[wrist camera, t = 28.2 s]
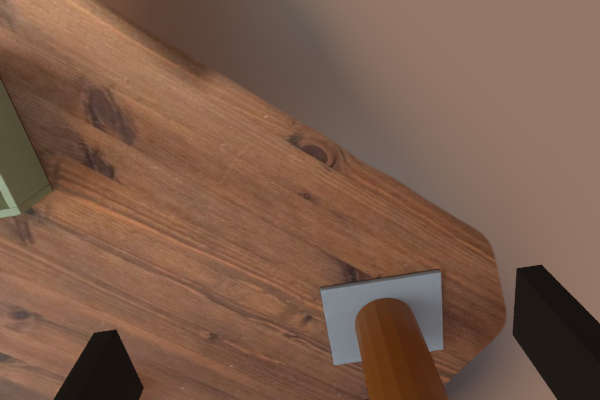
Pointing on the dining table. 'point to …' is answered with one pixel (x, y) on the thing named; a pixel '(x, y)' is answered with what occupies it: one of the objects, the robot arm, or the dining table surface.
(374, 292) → the mat
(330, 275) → the dining table surface
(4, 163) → the bin
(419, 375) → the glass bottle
